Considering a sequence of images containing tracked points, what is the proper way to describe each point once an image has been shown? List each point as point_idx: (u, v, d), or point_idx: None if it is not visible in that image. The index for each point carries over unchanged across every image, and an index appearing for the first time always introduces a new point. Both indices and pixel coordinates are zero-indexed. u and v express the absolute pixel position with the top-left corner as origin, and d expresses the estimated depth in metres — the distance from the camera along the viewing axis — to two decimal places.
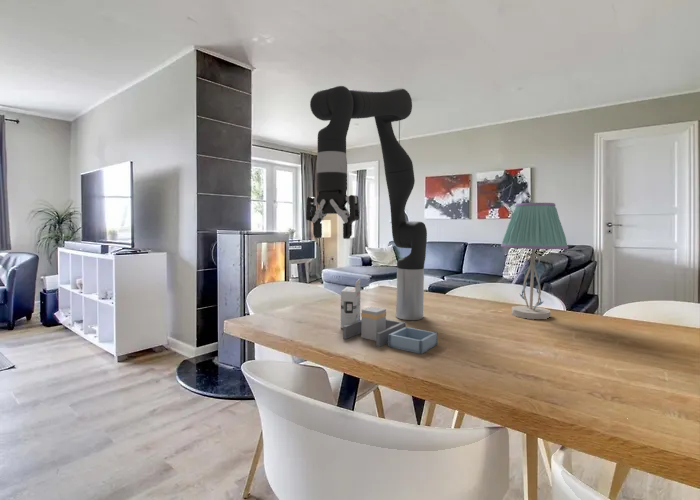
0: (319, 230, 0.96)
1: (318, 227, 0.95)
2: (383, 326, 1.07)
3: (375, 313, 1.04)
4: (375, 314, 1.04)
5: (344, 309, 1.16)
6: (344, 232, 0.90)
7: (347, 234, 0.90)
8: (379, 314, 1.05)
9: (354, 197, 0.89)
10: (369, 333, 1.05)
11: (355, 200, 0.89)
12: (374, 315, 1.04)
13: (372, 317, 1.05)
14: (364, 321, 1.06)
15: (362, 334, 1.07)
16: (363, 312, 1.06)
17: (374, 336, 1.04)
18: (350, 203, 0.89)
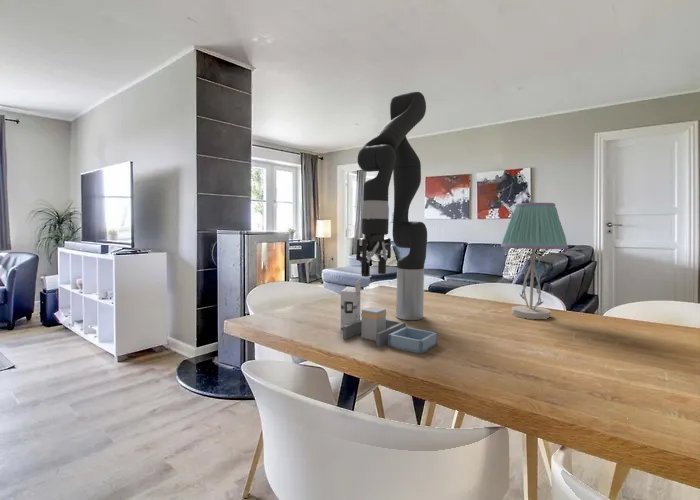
0: None
1: None
2: (383, 326, 1.07)
3: (375, 313, 1.04)
4: (375, 314, 1.04)
5: (344, 309, 1.16)
6: (385, 268, 1.09)
7: None
8: (379, 314, 1.05)
9: None
10: (369, 333, 1.05)
11: None
12: (374, 315, 1.04)
13: (372, 317, 1.05)
14: (364, 321, 1.06)
15: (362, 334, 1.07)
16: (363, 312, 1.06)
17: (374, 336, 1.04)
18: (389, 245, 1.10)
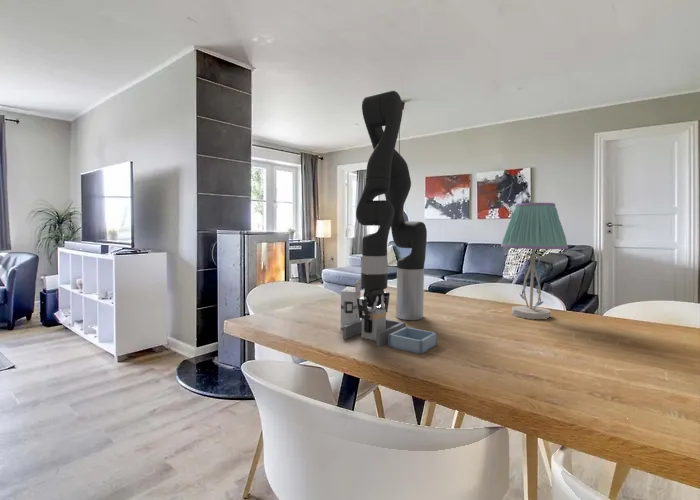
0: None
1: None
2: (383, 325, 1.07)
3: (375, 313, 1.04)
4: (375, 314, 1.04)
5: (344, 309, 1.16)
6: None
7: None
8: (379, 314, 1.05)
9: None
10: (369, 333, 1.05)
11: None
12: (374, 315, 1.04)
13: (372, 317, 1.05)
14: None
15: (362, 334, 1.07)
16: (363, 312, 1.06)
17: (374, 336, 1.04)
18: (387, 298, 1.11)
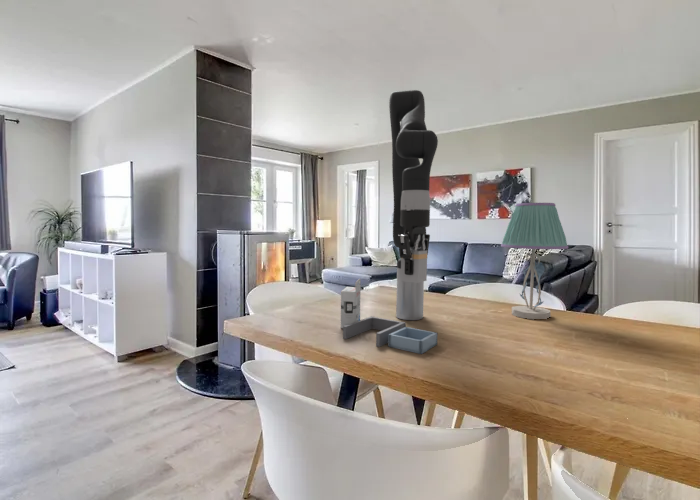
0: None
1: None
2: (424, 268, 0.98)
3: (417, 252, 0.95)
4: (417, 253, 0.95)
5: (344, 309, 1.16)
6: None
7: None
8: (421, 254, 0.96)
9: None
10: (410, 275, 0.97)
11: None
12: (415, 255, 0.96)
13: None
14: (404, 263, 0.98)
15: (402, 277, 0.98)
16: None
17: (416, 278, 0.96)
18: (427, 241, 1.02)
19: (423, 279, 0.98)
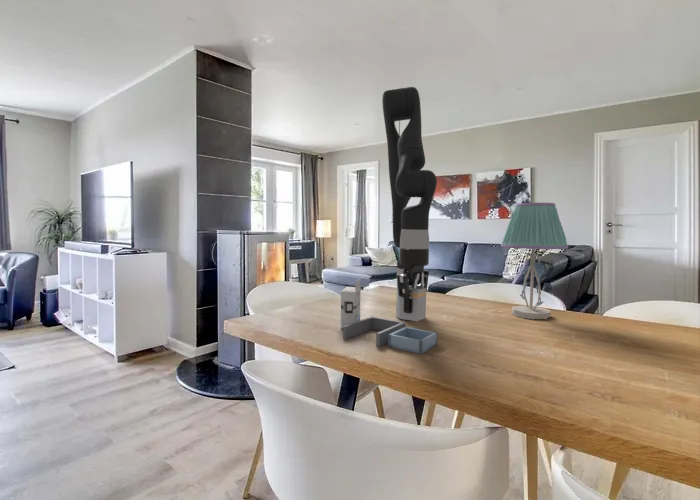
0: None
1: None
2: (423, 306, 0.99)
3: (416, 291, 0.96)
4: (416, 292, 0.96)
5: (344, 309, 1.16)
6: None
7: None
8: (420, 293, 0.97)
9: None
10: None
11: None
12: (414, 293, 0.96)
13: None
14: (403, 300, 0.98)
15: (401, 314, 0.99)
16: (402, 291, 0.98)
17: (415, 316, 0.97)
18: (426, 277, 1.03)
19: (422, 317, 0.99)
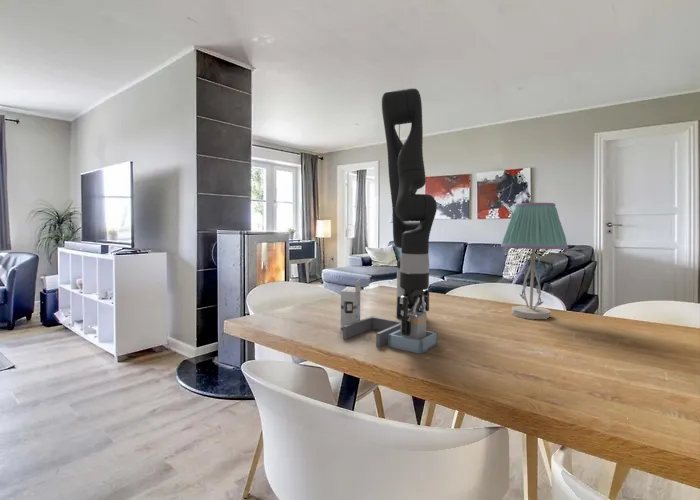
0: None
1: None
2: (423, 331, 1.00)
3: (416, 318, 0.97)
4: (416, 319, 0.97)
5: (344, 309, 1.16)
6: None
7: None
8: (420, 319, 0.97)
9: None
10: None
11: None
12: (415, 320, 0.97)
13: (413, 322, 0.97)
14: None
15: None
16: None
17: None
18: (427, 297, 1.04)
19: None
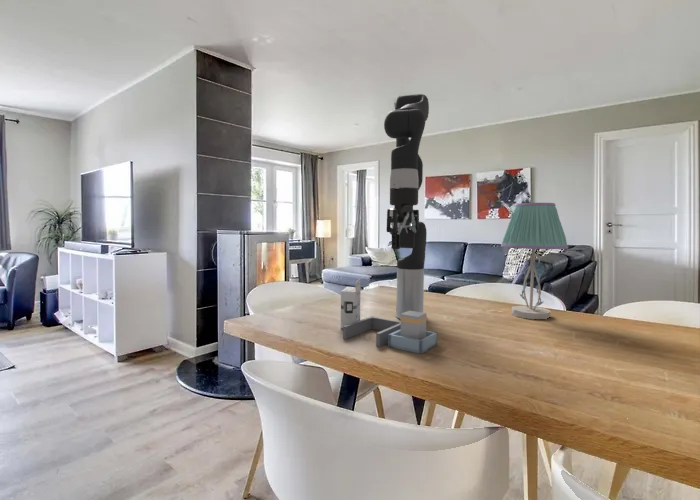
0: None
1: None
2: (423, 331, 1.00)
3: (416, 318, 0.97)
4: (416, 319, 0.97)
5: (344, 309, 1.16)
6: (414, 241, 1.04)
7: None
8: (420, 319, 0.97)
9: None
10: None
11: None
12: (415, 320, 0.97)
13: (413, 322, 0.97)
14: (404, 326, 0.99)
15: None
16: (402, 316, 0.99)
17: None
18: (417, 216, 1.05)
19: None
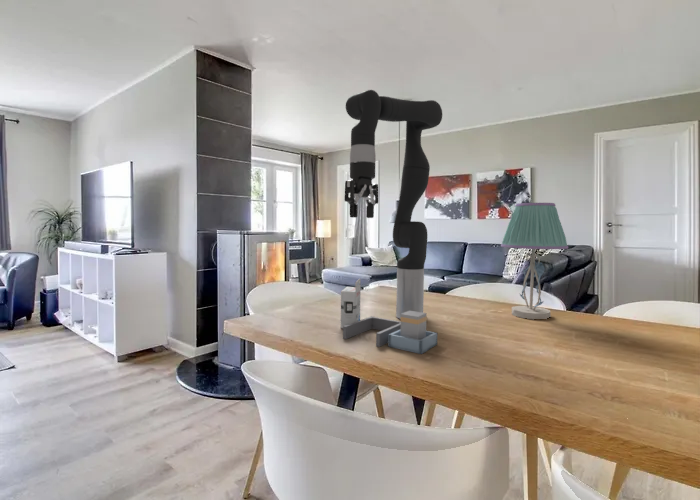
0: None
1: None
2: (423, 331, 1.00)
3: (416, 318, 0.97)
4: (416, 319, 0.97)
5: (344, 309, 1.16)
6: (373, 212, 1.14)
7: None
8: (420, 319, 0.97)
9: None
10: None
11: None
12: (415, 320, 0.97)
13: (413, 322, 0.97)
14: (404, 326, 0.99)
15: None
16: (402, 316, 0.99)
17: None
18: (376, 190, 1.15)
19: None
